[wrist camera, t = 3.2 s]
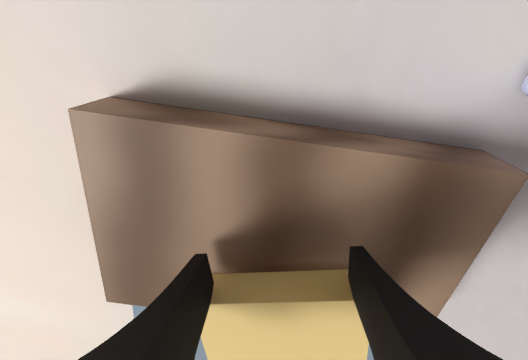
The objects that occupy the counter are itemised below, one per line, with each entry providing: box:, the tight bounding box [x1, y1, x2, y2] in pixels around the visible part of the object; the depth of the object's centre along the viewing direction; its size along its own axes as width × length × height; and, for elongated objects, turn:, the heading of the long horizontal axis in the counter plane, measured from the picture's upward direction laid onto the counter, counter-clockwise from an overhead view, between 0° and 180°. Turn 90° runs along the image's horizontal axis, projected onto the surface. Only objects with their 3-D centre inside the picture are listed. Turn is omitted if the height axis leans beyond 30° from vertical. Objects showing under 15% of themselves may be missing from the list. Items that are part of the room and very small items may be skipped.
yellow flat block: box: [201, 269, 369, 360], centre depth 15 cm, size 9×6×2 cm, turn 96°
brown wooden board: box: [68, 97, 528, 317], centre depth 15 cm, size 20×12×3 cm, turn 83°
